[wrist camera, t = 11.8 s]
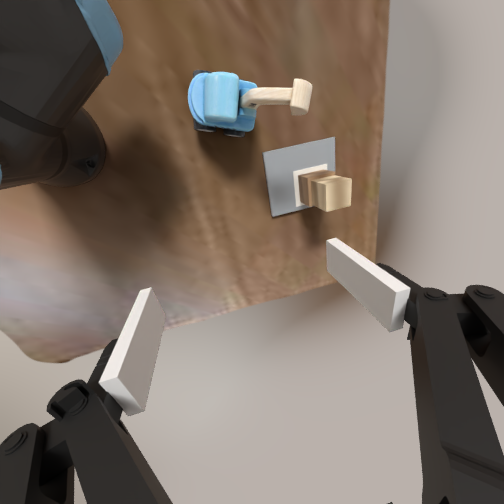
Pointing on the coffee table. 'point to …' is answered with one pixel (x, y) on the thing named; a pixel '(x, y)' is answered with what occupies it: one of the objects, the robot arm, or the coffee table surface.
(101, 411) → the robot arm
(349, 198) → the maple block
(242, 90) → the toy excavator
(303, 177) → the walnut block
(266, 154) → the pad
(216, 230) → the coffee table surface
